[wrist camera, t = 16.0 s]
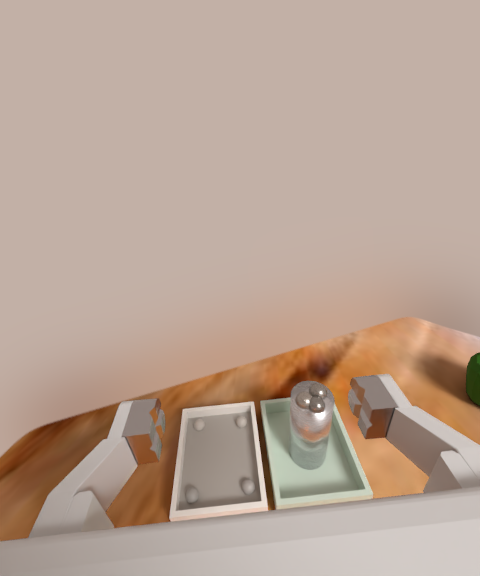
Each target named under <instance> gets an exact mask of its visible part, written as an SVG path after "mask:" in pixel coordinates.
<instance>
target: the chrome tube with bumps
mask: <svg viewBox="0 0 480 576" xmlns="http://www.w3.org/2000/svg"><path fill="white" fill-rule="evenodd" d="M333 408H334V397H333V394H332V392H331V391H330V390H329V389H328V388H327V387H326V386H324V385H323V384H321V383H318V382H315V381H303V382H300V383H298V384H297V385H295V386H294V388H293V389H292V391H291V403H290V430H289V454H290V457H291V459H292V460H293V461H294V463H295V464H296V465H298V466H299V467H301V468H303V469H306V470H315V469H318V468H319V467H321V466H322V465H323V463H324V462H325V459H326V453H327V447H328V440H329V434H330V427H331V421H332V414H333Z"/></svg>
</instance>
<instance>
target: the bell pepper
mask: <svg viewBox="0 0 480 576" xmlns="http://www.w3.org/2000/svg"><path fill="white" fill-rule="evenodd" d="M466 392H467V394H468V396H469V397H470V399H471V400H472V402H474V403H476V404H477V405H479V406H480V353H477V354H475V355H474V356H472V357H471V358H470V361H469V363H468V366H467V374H466Z"/></svg>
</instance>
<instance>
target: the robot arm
mask: <svg viewBox="0 0 480 576" xmlns="http://www.w3.org/2000/svg"><path fill="white" fill-rule="evenodd" d="M350 385H351V387H352V389H351V390H350V391H349V394H348V400H349V405H350V408H351V411H352V413H353V415H355V416H356V417H358V418H359V420H358V426H359V428H360V430H361V432H362V434H363V436H364V438H365V439H373V438H386V439H387V440H388V441H389V442H390V443H391V444H393V445H394V446H395V447H396V448H397V449H398V450H399V451H401V452H402V453H403V454H404V455H405V456H406V457H407V458H408V459H410V460H411V461H412V462H413V463H414V464H415V465H416V466H418V467H419V468H420V469H421V470H422V471H423V472H424V473H426V474H427V475H428V476H429V479H428V481H427V483H426V485H425V488H424V490H423V492H424V493H418V494H410V495H401V496H392V497H383V498H374V499H366V500H357V501H348V502H339V503H330V504H322V505H313V506H304V507H295V508H286V509H278V510H269V511H260V512H251V513H243V514H234V515H225V516H216V517H208V518H199V519H190V520H182V521H173V522H164V523H155V524H147V525H138V526H129V527H120V528H114V525H113V523H112V522H111V520H110V519H109V517H108V516H107V514H106V513H105V512H106V510H107V509H108V508H109V506H110V505H111V503H112V502H113V501H114V499H115V498H116V496H117V495H118V493H119V492H120V491H121V489H122V488H123V486H124V485H125V483H126V482H127V481H128V479H129V478H130V476H131V475H132V474H133V472H134V471H135V469H136V468H137V466H138V465H139V464H146V463H153V462H159V459H160V453H161V448H162V444H161V441H160V439H161V437H162V436H163V435H164V431H165V415H164V412H163V410H161V409H160V407H161V402H160V400H159V399H146V400H134V401H123V402H121V404H120V405H119V407H118V410H117V412H116V415H115V418H114V421H113V423H112V426H111V429H110V432H109V434H108V437H107V439H103V440H102V441H101V442H100V443H99V444H98V445H97V446H96V447H95V448H94V449H93V450H92V451H91V452H90V453H89V454H88V455H87V456H86V457H85V458H84V459H83V460H82V461H81V462H80V463H79V464H78V465H77V466H76V467H75V468H74V469H73V470H72V471H71V472H70V473H69V474H68V475H67V476H66V477H65V478H64V479H63V480H62V481H61V482H60V483H59V484H58V485H57V486H56V487H55V488H54V489H53V490H52V491H51V492H50V493H49V494H48V497H47V499H46V501H45V503H44V505H43V507H42V509H41V511H40V514H39V516H38V518H37V520H36V522H35V524H34V526H33V529H32V531H31V533H30V535H29V537H28V538H24V539H16V540H7V541H0V576H480V445H478V444H477V443H475V442H474V441H472V440H470V439H469V438H467V437H465V436H464V435H462V434H461V433H459V432H457V431H456V430H454V429H452V428H451V427H449V426H448V425H446V424H444V423H443V422H441V421H439V420H438V419H436V418H435V417H433V416H431V415H430V414H428V413H426V412H425V411H423V410H422V409H420V408H418V407H417V406H412V405H411V404H410V403H409V401H408V400H407V398H406V397H405V395H404V394H403V393H402V391H401V390H400V388H399V387H398V386H397V384H396V383H395V381H394V380H393V379H392V377H391V376H390V375H389V374H383V375H371V376H363V377H355V378H352V379H351V382H350Z"/></svg>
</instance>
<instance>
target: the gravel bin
mask: <svg viewBox="0 0 480 576" xmlns="http://www.w3.org/2000/svg"><path fill="white" fill-rule="evenodd" d="M260 511H268V505H267V497H266V489H265V482H264V474H263V467H262V459H261V451H260V444H259V436H258V429H257V421H256V414H255V406H254V402H244V403H235V404H225V405H216V406H206V407H197V408H187V409H183V412H182V420H181V428H180V436H179V444H178V452H177V460H176V468H175V476H174V484H173V492H172V500H171V508H170V516H169V518H170V521H171V522H173V521H182V520H190V519H199V518H208V517H216V516H225V515H234V514H243V513H251V512H260Z"/></svg>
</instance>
